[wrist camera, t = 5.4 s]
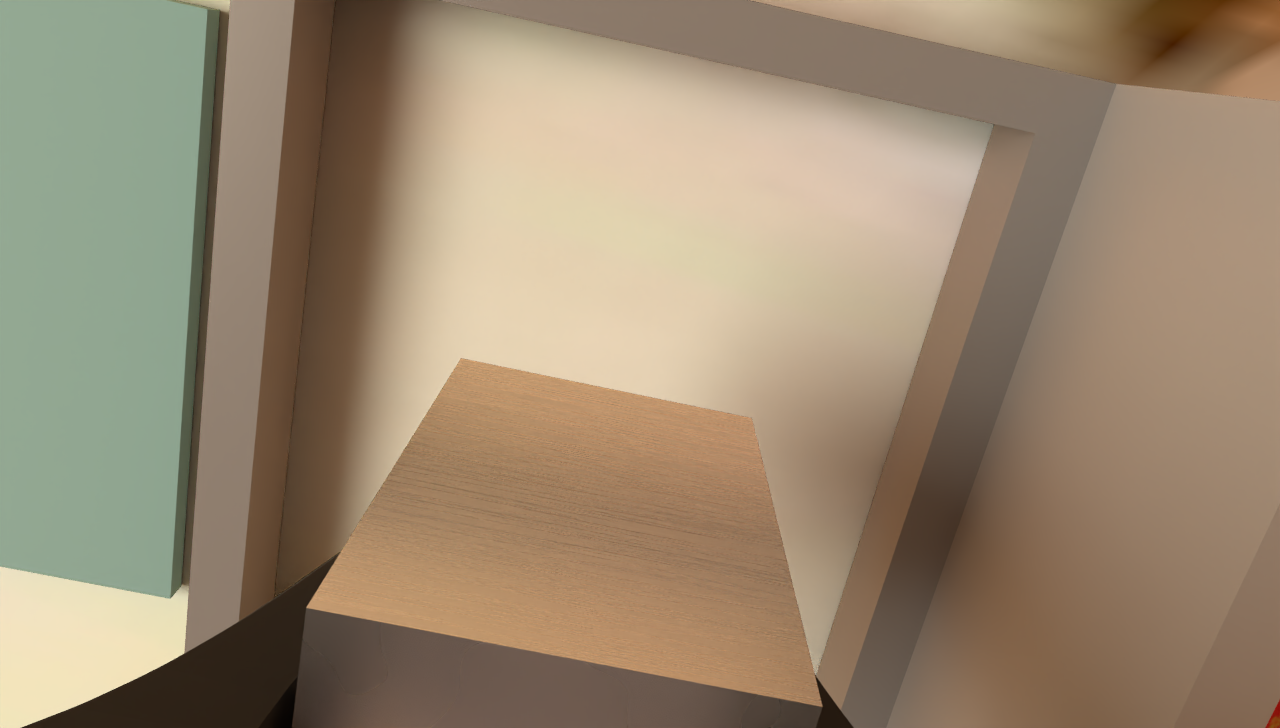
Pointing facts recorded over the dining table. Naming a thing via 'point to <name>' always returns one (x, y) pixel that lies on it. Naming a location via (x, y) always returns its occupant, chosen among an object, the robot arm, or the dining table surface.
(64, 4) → the module mat
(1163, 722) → the equipment case
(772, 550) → the block
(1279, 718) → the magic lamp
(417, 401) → the dining table surface
